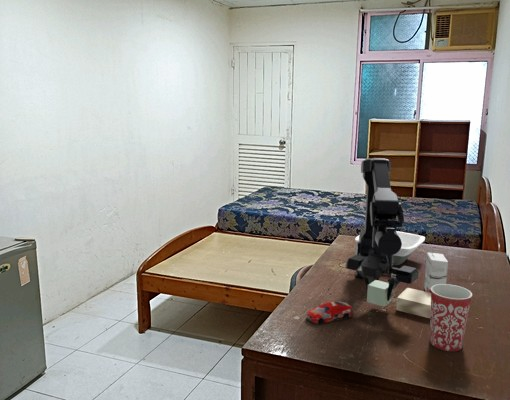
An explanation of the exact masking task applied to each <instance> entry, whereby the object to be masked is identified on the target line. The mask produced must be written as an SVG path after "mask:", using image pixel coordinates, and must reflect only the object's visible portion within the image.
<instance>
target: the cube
mask: <svg viewBox="0 0 510 400" xmlns="http://www.w3.org/2000/svg"><path fill="white" fill-rule="evenodd" d="M388 286H389V283H388V282H385V281H382V280H377V279H375V280H374V281H373V282H372V283H370V284H368V290H367V294H366V302H367V303H370V304H372V305H376V306H380V307H386V306H387V305H389V304H390V303H391V302H392V301H393V300H392V297H393V296H392V297H391V299H390V300H389V301H387V293H388Z"/></svg>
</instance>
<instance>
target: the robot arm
mask: <svg viewBox="0 0 510 400" xmlns="http://www.w3.org/2000/svg"><path fill="white" fill-rule="evenodd" d="M391 164H392V162H391V160H389V159H387V158H385V157H384V158H383V157H382V158H381V157H373V158H368V157H367V158H365V160H362V161H361V164H360V173H361V174H362V179H363V180H364V182H365V184H366V195H365V196H366V197H365V212H364V213H365V216H364V217H365V218H364V229H363V230H362V232H361V233H360V234H359V235H360V236H359V235H358V236H359V242H356V245H355V251H354V254H355V255H353V256H351V257H349V258H347V259H346V263H345V264H346V267H345V268H346V269H348V270H352V271H356V274H354V277H355V278H359V279H361V280H363V281H364V284H365V287H366V290H367V291H368V284H370V283H372V282H373V281H375V280H377V279H379V278H380V277H381V275H385V276H386V275H388V274H389V275H391V277H390V278H388V279H387V283H389V286H388V293H387V301H389V300H390V299H391V297H393V295H394V293H395V291H396V289H397V287H398V286H399V285H400V284H401V283H403V284H404V283H405V284H412V283H414V282H415V281H417V280H418V279H419V274H420V273H419V270H418V269H417V268H416V267H413V266H409V265H408V266H407V265H403V266H401V267H400V268H398V267H394V266H395V265H394V261H393V255H394V254H396V253H397V252H399V250H400V249H401V246H402V242H401V239H400V237H399V236H398V235H397V233H396V231H397V228H403V224H404V223H405V222H404V221H405V217H404V210H403V209H404V208H403V206H402V203H401V202H399V198H398V195H397V193H395V192H393V190H392V186H391V180H390V174H391V166H392V165H391Z"/></svg>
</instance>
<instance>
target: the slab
mask: <svg viewBox="0 0 510 400" xmlns="http://www.w3.org/2000/svg"><path fill="white" fill-rule="evenodd" d="M395 310H396V311H399V312H404V313H407V314H411V315H414V316H419V317H423V318H427V319H430V317H431V293H429V292H426V291H425V290H420V289H415V288H410V287H406V288H405V289H404V290H403V291H402V292H401V293H400V294H399V295H398V296H397V298H396V309H395Z"/></svg>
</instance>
